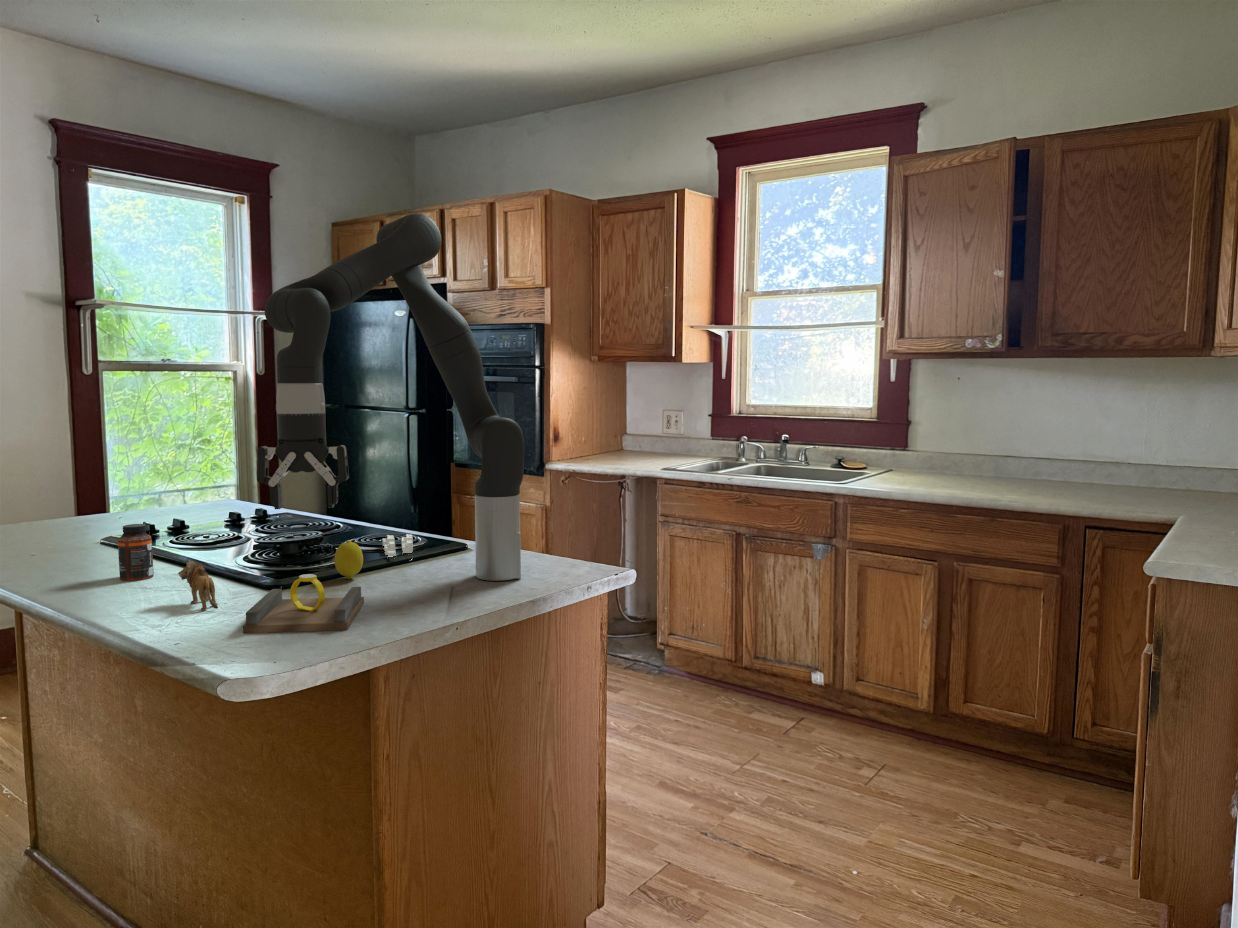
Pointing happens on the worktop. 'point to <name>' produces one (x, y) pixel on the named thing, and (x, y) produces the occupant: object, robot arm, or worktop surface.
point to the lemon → (348, 559)
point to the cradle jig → (302, 613)
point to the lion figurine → (199, 584)
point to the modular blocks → (390, 545)
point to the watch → (319, 588)
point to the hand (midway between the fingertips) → (304, 508)
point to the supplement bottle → (135, 553)
